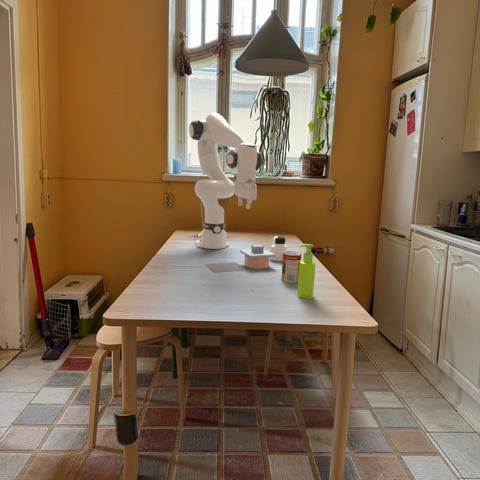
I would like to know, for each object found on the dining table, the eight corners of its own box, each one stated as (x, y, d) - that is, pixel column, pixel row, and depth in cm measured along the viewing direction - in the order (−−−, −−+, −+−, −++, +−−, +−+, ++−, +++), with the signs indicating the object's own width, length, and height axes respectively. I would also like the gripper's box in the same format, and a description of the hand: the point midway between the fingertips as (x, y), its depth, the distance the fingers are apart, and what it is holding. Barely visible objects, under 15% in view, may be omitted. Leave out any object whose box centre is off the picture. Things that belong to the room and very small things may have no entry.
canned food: (297, 278, 179) (299, 251, 176) (301, 283, 171) (303, 255, 169) (280, 277, 178) (281, 250, 176) (282, 282, 171) (284, 254, 168)
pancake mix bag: (228, 236, 272) (230, 194, 266) (199, 235, 270) (200, 193, 265) (227, 234, 278) (229, 193, 273) (199, 233, 277) (201, 192, 271)
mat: (204, 264, 194) (204, 263, 194) (235, 263, 200) (235, 262, 200) (214, 273, 180) (214, 272, 180) (247, 271, 185) (247, 270, 185)
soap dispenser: (293, 293, 157) (296, 242, 153) (310, 293, 158) (314, 243, 154) (296, 298, 151) (300, 245, 148) (314, 298, 152) (318, 246, 148)
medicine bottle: (286, 258, 214) (287, 236, 212) (283, 261, 207) (284, 238, 205) (273, 257, 216) (274, 235, 214) (269, 260, 210) (271, 237, 207)
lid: (239, 251, 198) (240, 243, 197) (264, 250, 203) (264, 242, 202) (249, 257, 186) (250, 249, 185) (275, 256, 191) (275, 248, 190)
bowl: (241, 264, 199) (242, 252, 198) (262, 263, 203) (263, 251, 201) (250, 269, 189) (251, 257, 187) (271, 268, 193) (272, 256, 191)
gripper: (261, 180, 184) (258, 210, 187) (244, 176, 202) (242, 204, 205) (248, 180, 182) (246, 210, 185) (232, 176, 200) (230, 203, 203)
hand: (244, 207), depth 195 cm, fingers open, 8 cm apart
